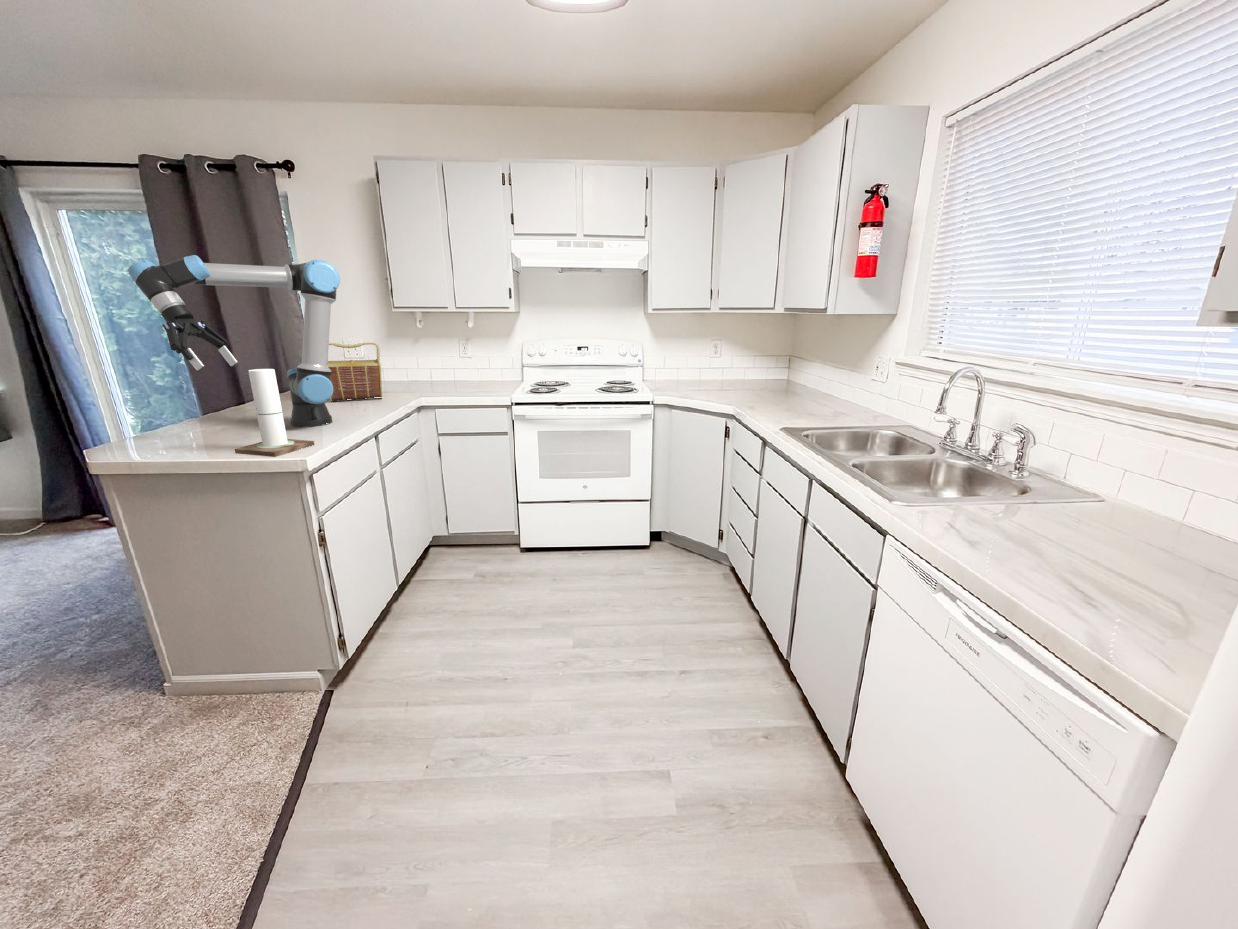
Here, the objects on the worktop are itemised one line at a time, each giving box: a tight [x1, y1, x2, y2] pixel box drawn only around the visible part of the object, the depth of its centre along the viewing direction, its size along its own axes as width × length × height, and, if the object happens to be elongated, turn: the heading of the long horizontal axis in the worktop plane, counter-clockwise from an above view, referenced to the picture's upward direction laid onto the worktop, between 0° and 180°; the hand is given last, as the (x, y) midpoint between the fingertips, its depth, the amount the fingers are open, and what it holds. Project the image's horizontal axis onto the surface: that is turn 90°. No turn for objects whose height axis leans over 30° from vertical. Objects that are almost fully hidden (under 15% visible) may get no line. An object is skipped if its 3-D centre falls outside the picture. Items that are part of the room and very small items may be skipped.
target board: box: [234, 438, 315, 458], centre depth 171 cm, size 16×16×2 cm
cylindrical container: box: [248, 368, 288, 446], centre depth 167 cm, size 7×7×25 cm
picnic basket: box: [327, 342, 383, 402], centre depth 270 cm, size 29×26×30 cm
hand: (218, 366), depth 167 cm, fingers open, 13 cm apart
